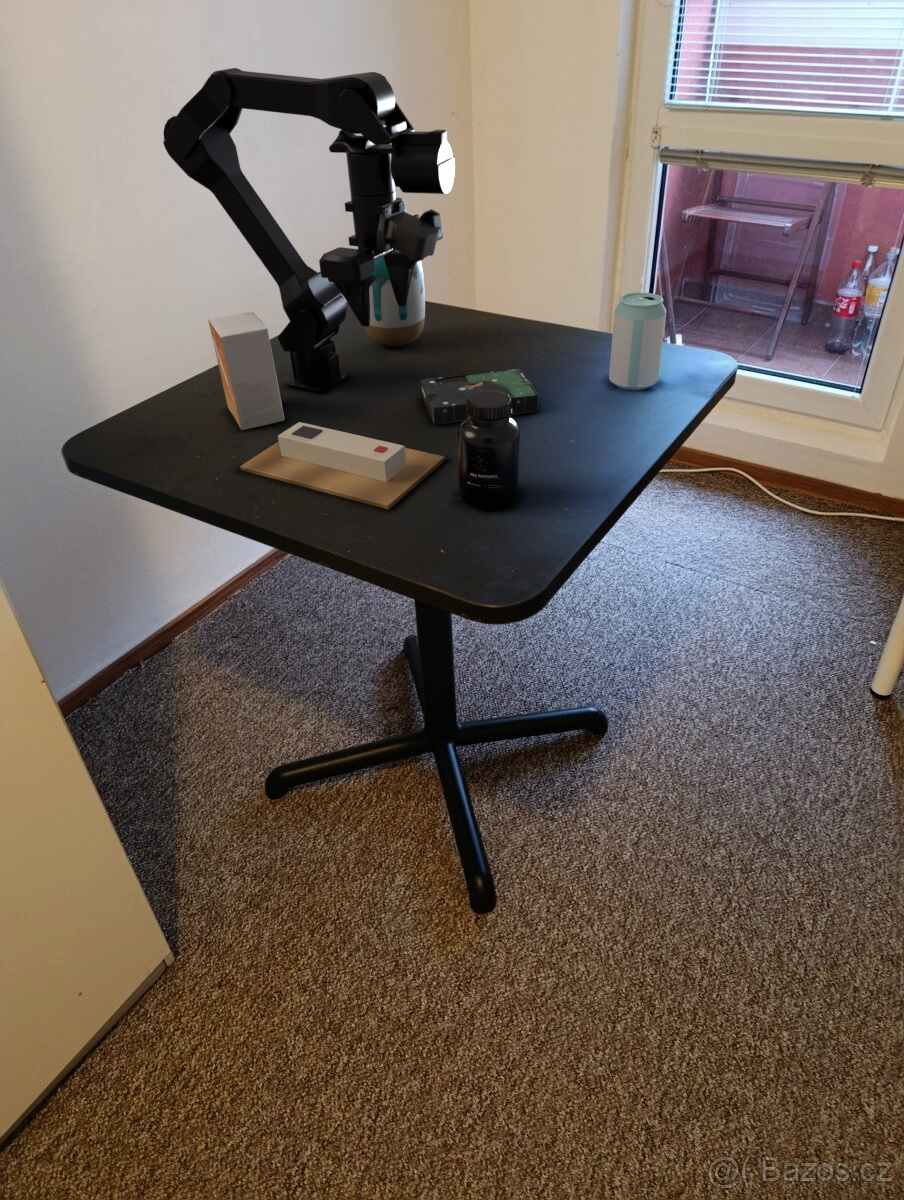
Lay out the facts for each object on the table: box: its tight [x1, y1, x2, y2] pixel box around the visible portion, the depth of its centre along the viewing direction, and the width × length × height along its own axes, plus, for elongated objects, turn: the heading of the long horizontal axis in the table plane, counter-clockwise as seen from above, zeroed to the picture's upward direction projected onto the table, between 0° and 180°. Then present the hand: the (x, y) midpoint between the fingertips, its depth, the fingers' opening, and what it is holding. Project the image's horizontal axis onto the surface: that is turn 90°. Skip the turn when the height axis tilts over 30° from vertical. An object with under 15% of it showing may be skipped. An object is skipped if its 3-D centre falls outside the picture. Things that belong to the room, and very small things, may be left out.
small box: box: [207, 311, 286, 431], centre depth 109 cm, size 8×6×13 cm
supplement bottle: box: [457, 391, 521, 511], centre depth 89 cm, size 7×7×12 cm
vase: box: [363, 251, 426, 347], centre depth 128 cm, size 11×11×19 cm
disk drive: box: [420, 368, 540, 425], centre depth 112 cm, size 10×3×15 cm
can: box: [608, 291, 667, 391], centre depth 113 cm, size 7×7×12 cm
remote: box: [277, 421, 406, 482], centre depth 99 cm, size 16×4×3 cm, turn 61°
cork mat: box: [239, 440, 446, 510], centre depth 100 cm, size 22×13×1 cm, turn 61°
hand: (384, 315), depth 112 cm, fingers open, 9 cm apart
